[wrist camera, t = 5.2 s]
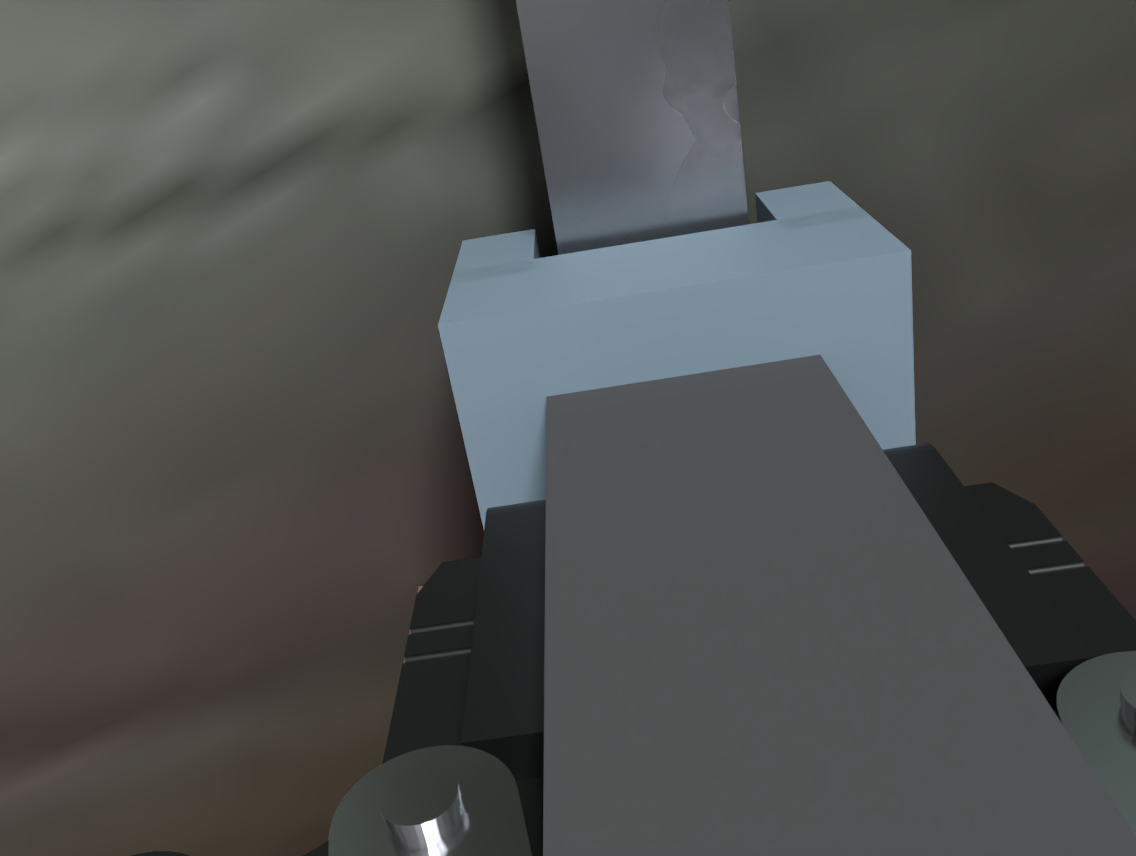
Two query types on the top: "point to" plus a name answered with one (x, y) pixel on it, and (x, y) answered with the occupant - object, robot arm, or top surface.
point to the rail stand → (635, 118)
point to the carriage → (749, 553)
